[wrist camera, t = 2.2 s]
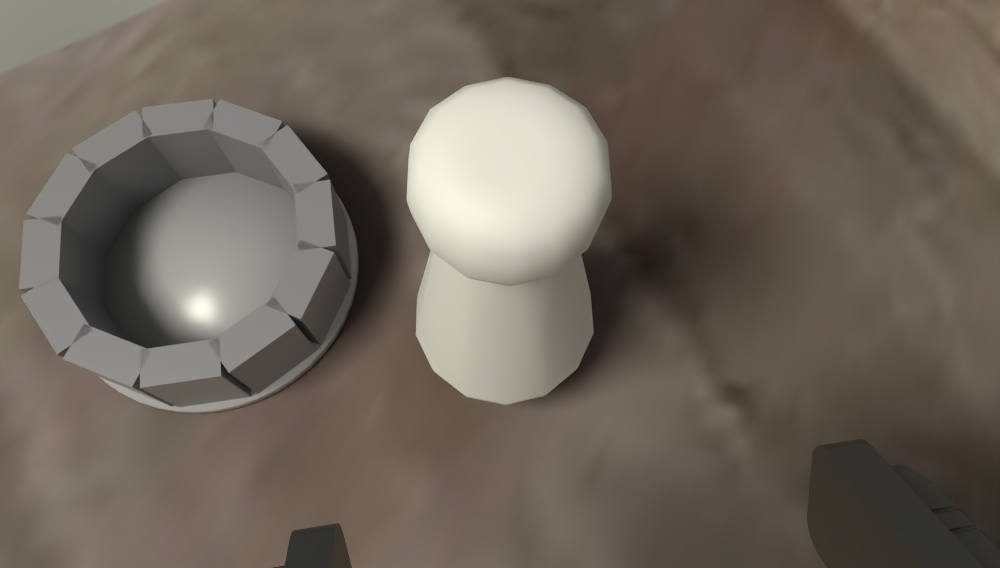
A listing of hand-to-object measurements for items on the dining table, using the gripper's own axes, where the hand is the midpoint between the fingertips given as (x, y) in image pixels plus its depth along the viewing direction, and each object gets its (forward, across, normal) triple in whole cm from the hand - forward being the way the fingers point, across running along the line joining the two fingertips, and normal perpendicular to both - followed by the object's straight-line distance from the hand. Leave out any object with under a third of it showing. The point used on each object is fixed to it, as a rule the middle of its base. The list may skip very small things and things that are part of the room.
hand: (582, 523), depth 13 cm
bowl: (+17, +10, +1) cm, 19 cm away
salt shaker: (+14, 0, +4) cm, 15 cm away
